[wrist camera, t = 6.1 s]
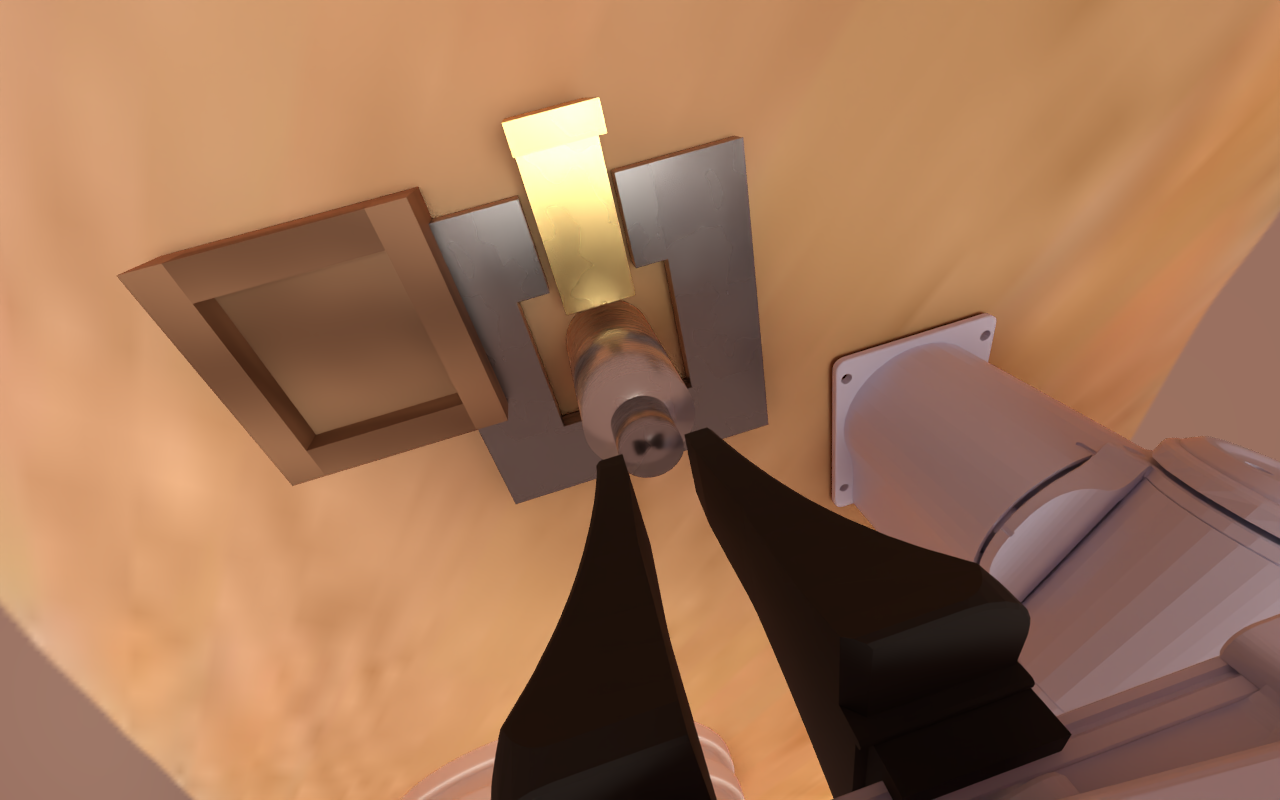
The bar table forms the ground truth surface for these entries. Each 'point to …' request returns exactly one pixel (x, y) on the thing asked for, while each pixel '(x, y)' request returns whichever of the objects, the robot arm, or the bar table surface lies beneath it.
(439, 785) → the plate stack
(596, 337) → the peg
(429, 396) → the square wooden tray
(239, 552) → the bar table surface
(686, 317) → the socket collar
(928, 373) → the robot arm
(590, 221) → the golden l-shaped block
